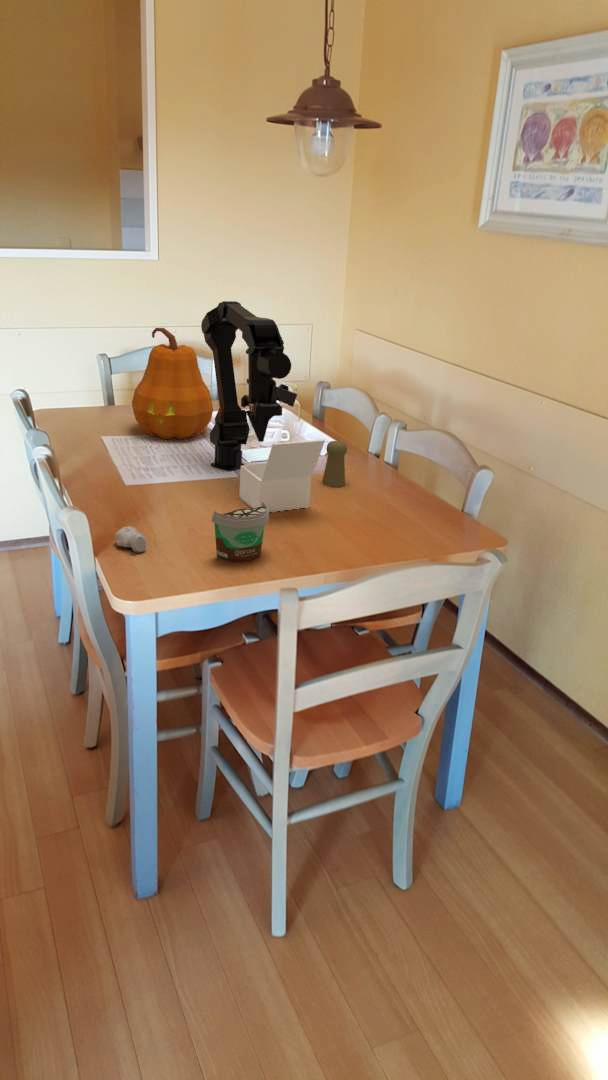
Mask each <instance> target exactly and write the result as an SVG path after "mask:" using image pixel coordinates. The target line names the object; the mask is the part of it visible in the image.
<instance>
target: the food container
mask: <svg viewBox="0 0 608 1080" xmlns="http://www.w3.org/2000/svg"><path fill="white" fill-rule="evenodd" d="M211 517H212V518H211V520H210V521H211V522H212V523H214V533H215V535H214V536H215V537H214V538H215V549H216V550H215V551H216V558H218V559H219V560H222V561H224V562H228V563H235V564H236V563H237V564H243V563H245V562H246V563H250V562H254V561H256V560H258V559H259V558H260V557H261V553H262V546H263V540H264V534H265V526H266V523H267V522H268V521H269V520H270V513H268V509H267V506H266V505H265V504H264V503H263V502H262V507H257V508H238V509H235V510H233V511H230V512H226V513H225V512H224V513H219V512H217V511H216V510H214V511H213V513H212V515H211ZM246 563H245V564H246Z"/></svg>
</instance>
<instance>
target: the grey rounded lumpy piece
mask: <svg viewBox="0 0 608 1080" xmlns="http://www.w3.org/2000/svg"><path fill="white" fill-rule="evenodd" d="M115 542H116V545H117V546H118V547H124V548H131V550H132V551H134V552H135V553H138V554H139V553H143V552H144V551H145V550H146V546H147V541H146V537H145V535H143V533H141V532H139V531H138V530H137V528H135V527H133V526H129V525H128V526H124V527H121V528H120V529H119V530H118V531H117V532H116V533H115Z"/></svg>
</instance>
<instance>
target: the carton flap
mask: <svg viewBox="0 0 608 1080" xmlns="http://www.w3.org/2000/svg"><path fill="white" fill-rule="evenodd" d="M325 441H326V440H325V439H315V440H312V439H311V440H302V441H300V440H299V441H289V442H288V441H286V442H275V443H272V444H271V445H272V446H271V449H270V451H269V455H268V458H267V461H266V463H267V464H266V463H265V464H266V467H265V470H264V473H263V477H262V481H267V480H277V479H287V478H297V477H307V476H312V477H313V474H314V471H315V469H316V466H317V464H318V461H319V458H320V456H321V453H322V450H323V447H324V444H325V443H326V442H325Z"/></svg>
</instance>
